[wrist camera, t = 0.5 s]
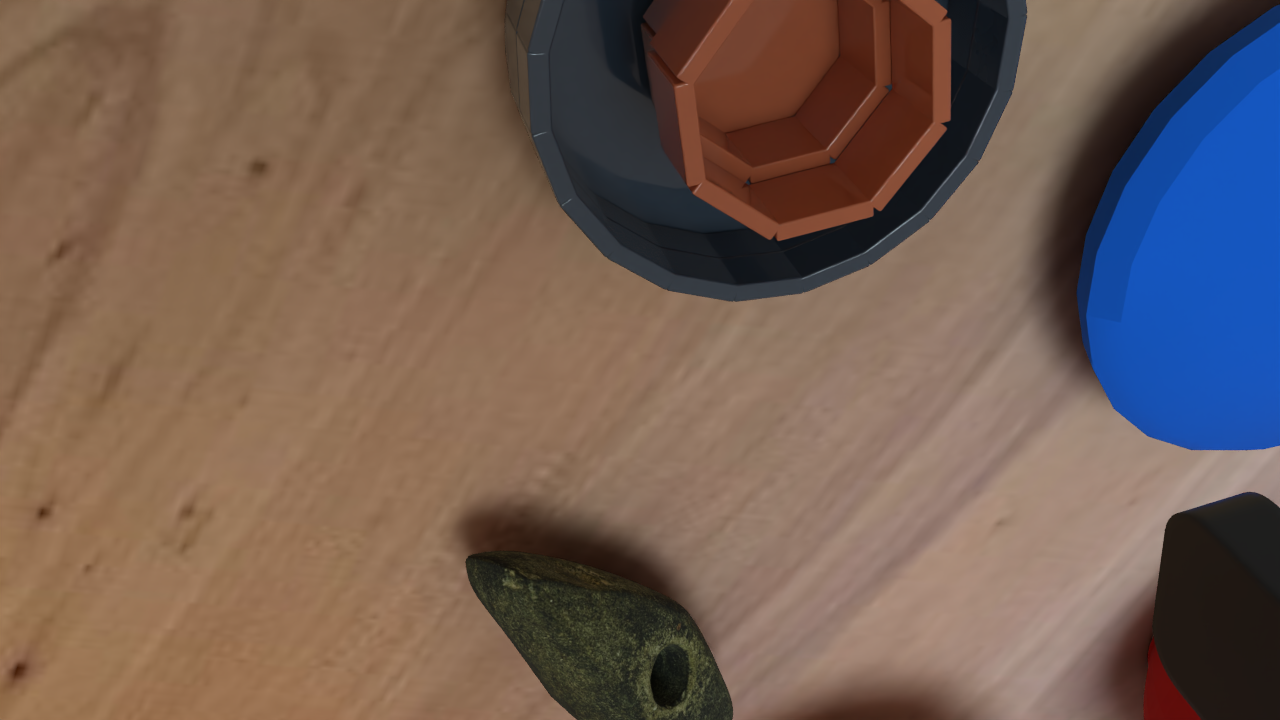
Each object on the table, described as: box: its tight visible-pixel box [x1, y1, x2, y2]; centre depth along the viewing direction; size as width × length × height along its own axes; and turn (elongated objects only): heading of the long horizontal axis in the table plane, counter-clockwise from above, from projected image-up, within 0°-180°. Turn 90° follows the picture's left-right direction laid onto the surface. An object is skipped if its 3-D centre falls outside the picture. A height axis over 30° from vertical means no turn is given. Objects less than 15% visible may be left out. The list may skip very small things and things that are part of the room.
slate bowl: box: [505, 0, 1027, 302], centre depth 29 cm, size 12×12×4 cm
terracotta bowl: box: [641, 0, 951, 241], centre depth 28 cm, size 6×6×5 cm
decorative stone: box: [466, 551, 733, 720], centre depth 38 cm, size 11×8×5 cm
